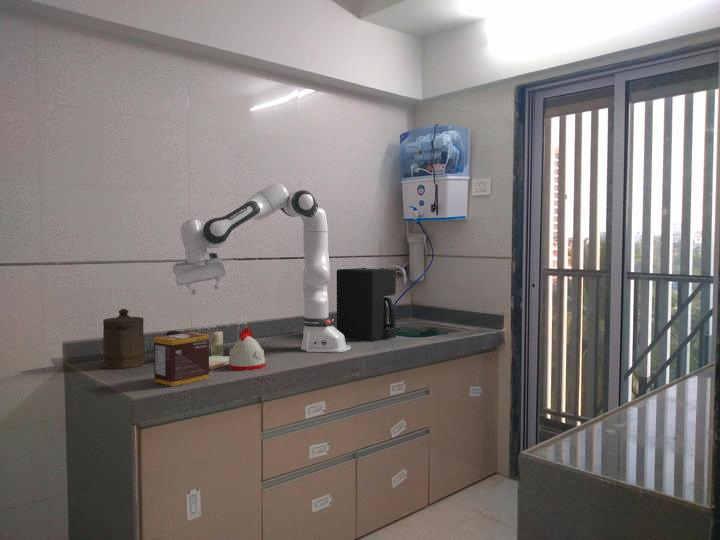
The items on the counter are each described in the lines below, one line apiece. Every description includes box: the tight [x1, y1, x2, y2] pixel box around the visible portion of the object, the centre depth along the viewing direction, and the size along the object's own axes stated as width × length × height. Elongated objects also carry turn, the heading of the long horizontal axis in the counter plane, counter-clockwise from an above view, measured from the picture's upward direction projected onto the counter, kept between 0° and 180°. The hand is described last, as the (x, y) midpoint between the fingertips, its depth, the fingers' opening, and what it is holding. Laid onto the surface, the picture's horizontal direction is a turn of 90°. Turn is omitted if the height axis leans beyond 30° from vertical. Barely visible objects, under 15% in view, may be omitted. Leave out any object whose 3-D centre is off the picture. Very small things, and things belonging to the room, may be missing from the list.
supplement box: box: [153, 331, 210, 387], centre depth 195 cm, size 10×15×16 cm
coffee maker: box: [336, 267, 397, 343], centre depth 288 cm, size 28×20×35 cm
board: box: [209, 355, 230, 370], centre depth 224 cm, size 12×18×1 cm, turn 161°
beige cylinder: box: [210, 330, 224, 356], centre depth 241 cm, size 5×5×10 cm
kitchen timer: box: [227, 327, 266, 372], centre depth 218 cm, size 14×14×15 cm
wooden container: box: [102, 308, 145, 370], centre depth 222 cm, size 15×15×22 cm
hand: (205, 291), depth 230 cm, fingers open, 8 cm apart
